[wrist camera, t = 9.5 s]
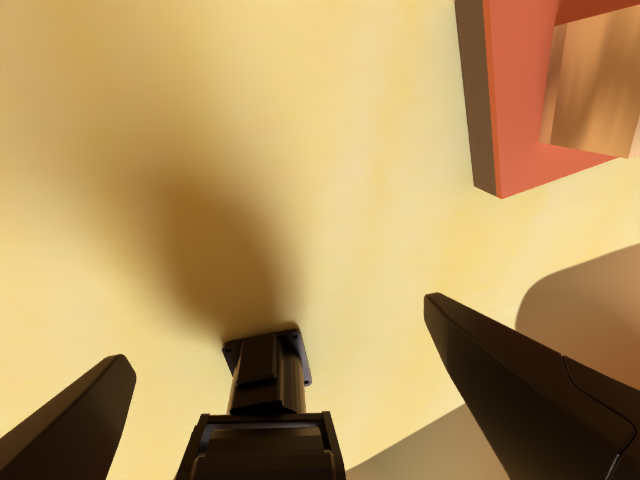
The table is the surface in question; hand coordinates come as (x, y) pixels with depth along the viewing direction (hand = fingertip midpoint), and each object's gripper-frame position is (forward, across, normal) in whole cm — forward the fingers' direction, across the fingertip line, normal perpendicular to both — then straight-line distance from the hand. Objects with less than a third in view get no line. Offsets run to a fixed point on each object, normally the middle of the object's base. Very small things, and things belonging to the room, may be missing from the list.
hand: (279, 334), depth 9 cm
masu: (+10, -18, -5) cm, 21 cm away
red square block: (+13, -18, -5) cm, 23 cm away
